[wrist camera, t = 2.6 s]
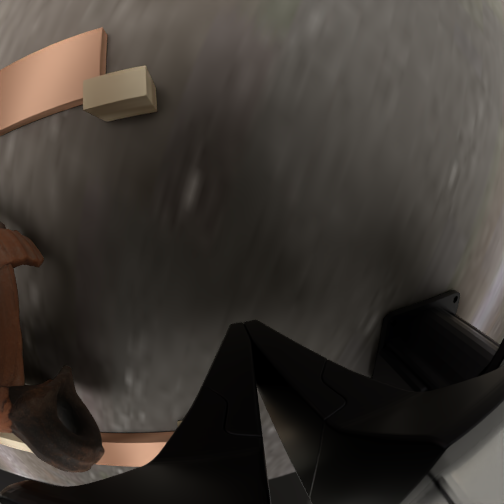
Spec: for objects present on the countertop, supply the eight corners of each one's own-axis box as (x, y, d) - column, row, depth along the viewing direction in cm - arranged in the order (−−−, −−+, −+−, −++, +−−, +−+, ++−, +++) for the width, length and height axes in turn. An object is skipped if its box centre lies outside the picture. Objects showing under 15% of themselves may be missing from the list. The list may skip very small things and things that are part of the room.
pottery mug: (-40, 334, 10) (-123, 327, 2) (22, 218, 13) (-51, 149, 5) (93, 466, 10) (50, 548, 3) (170, 346, 14) (163, 375, 6)
